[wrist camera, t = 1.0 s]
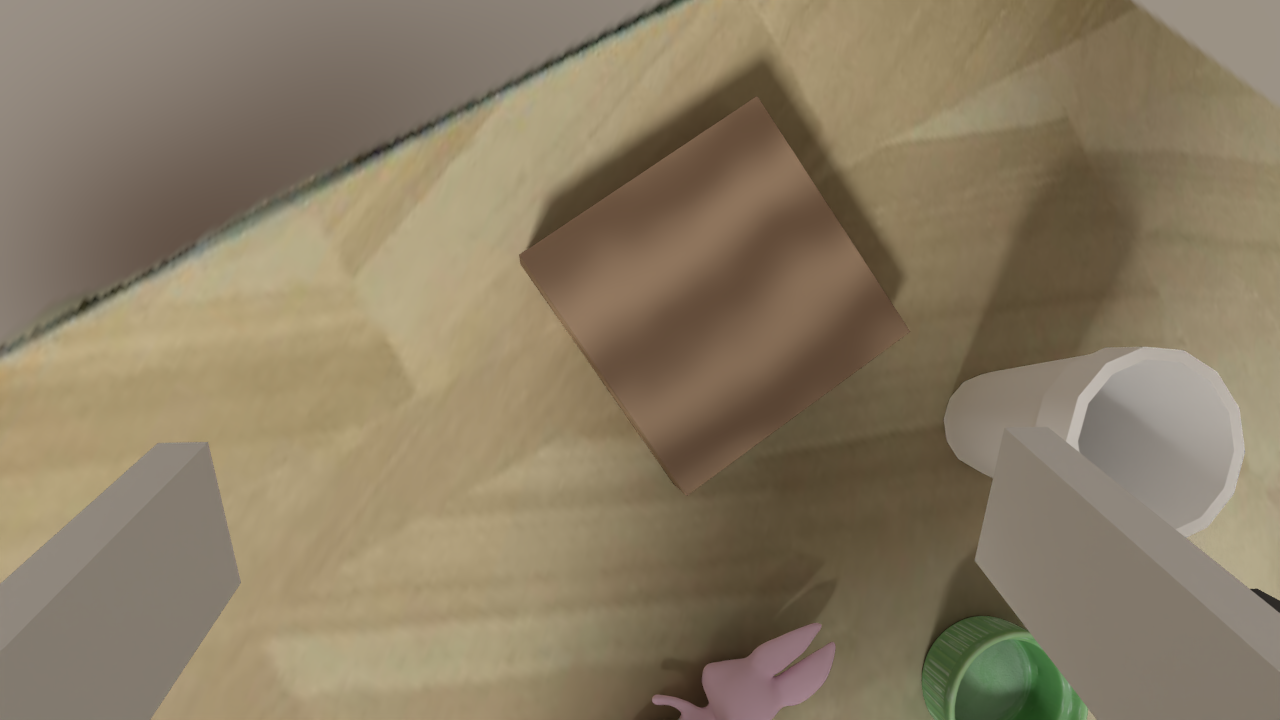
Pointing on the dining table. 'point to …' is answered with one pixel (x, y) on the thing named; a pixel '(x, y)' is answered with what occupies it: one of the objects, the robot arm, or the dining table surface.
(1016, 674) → the ramekin
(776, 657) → the rabbit figure
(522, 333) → the dining table surface
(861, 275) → the walnut base
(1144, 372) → the foam cup
